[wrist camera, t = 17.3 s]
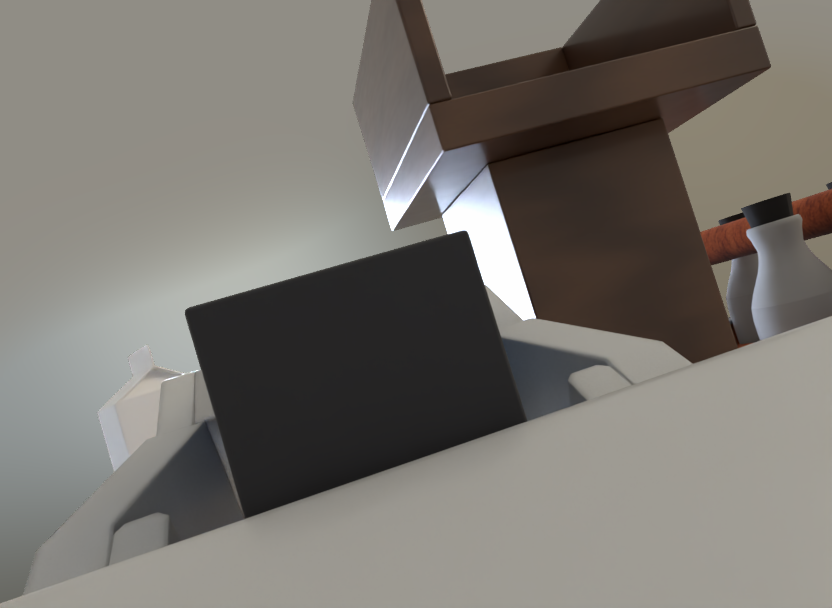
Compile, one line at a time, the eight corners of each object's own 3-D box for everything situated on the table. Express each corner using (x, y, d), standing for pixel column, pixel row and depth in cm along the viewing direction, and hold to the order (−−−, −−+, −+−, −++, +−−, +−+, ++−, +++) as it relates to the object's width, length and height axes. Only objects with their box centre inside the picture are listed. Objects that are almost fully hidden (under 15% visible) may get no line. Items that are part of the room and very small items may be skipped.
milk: (199, 701, 41) (97, 356, 42) (172, 677, 46) (81, 368, 46) (287, 648, 44) (192, 332, 45) (253, 631, 49) (167, 345, 50)
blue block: (226, 695, 6) (101, 266, 6) (285, 451, 24) (253, 342, 25) (624, 538, 7) (503, 159, 7) (394, 415, 25) (362, 309, 25)
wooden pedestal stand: (677, 900, 19) (379, -53, 20) (534, 695, 31) (352, 102, 32) (996, 737, 21) (711, -117, 22) (748, 604, 33) (570, 50, 34)
